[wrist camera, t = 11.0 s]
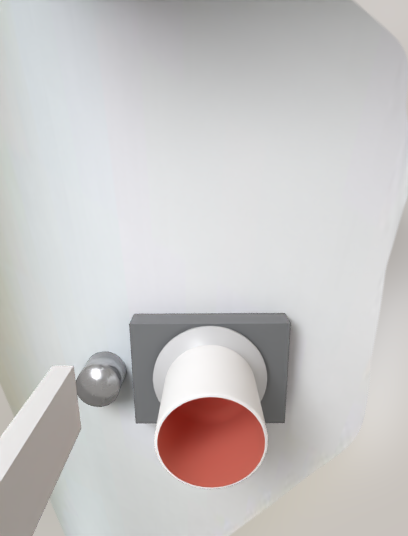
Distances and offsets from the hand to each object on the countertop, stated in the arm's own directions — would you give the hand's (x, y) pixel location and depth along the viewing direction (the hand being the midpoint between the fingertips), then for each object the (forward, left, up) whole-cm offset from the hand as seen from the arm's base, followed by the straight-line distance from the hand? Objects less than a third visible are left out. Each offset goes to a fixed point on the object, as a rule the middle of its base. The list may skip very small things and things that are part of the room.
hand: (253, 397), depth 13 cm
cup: (+15, -1, -25) cm, 29 cm away
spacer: (+16, -14, -29) cm, 36 cm away
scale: (+15, -1, -29) cm, 33 cm away
